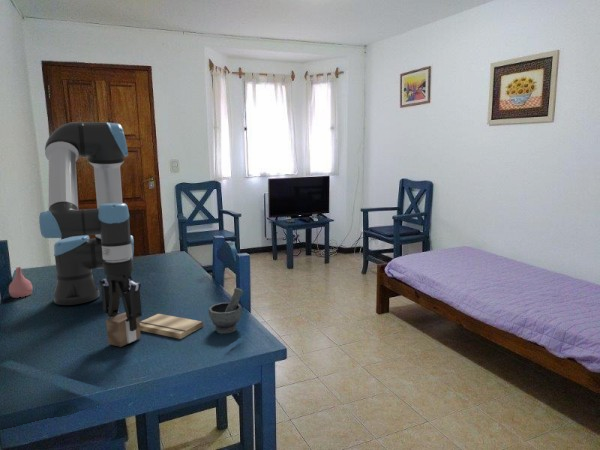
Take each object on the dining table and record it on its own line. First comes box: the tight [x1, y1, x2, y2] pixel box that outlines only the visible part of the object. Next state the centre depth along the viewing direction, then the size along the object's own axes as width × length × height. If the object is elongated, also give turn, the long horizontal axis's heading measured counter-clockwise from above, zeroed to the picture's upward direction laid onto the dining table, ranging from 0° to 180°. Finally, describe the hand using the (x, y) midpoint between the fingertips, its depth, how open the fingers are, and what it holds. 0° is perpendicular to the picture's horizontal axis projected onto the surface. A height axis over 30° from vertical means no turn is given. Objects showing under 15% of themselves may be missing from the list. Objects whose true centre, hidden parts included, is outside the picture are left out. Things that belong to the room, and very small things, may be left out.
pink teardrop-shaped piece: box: [8, 266, 33, 299], centre depth 161 cm, size 8×8×12 cm
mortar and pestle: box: [208, 287, 244, 335], centre depth 127 cm, size 11×9×12 cm
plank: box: [139, 313, 204, 340], centre depth 129 cm, size 18×10×2 cm, turn 64°
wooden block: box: [105, 311, 142, 348], centre depth 119 cm, size 5×7×8 cm
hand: (124, 339), depth 119 cm, fingers closed on wooden block, 5 cm apart
